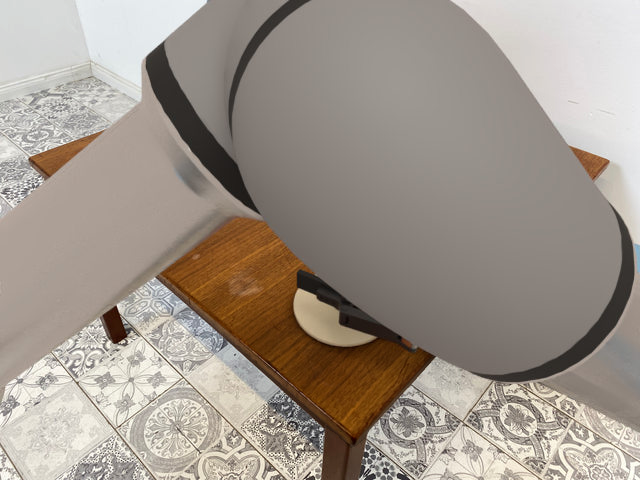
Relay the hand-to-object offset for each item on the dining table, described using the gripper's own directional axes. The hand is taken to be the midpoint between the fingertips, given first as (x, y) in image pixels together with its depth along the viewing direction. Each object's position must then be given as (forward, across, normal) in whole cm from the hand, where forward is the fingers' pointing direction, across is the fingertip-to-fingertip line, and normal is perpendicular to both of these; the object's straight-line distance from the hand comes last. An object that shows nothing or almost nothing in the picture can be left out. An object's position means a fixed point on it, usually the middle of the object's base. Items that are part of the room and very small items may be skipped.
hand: (312, 260), depth 67 cm
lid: (-5, 0, -6) cm, 8 cm away
